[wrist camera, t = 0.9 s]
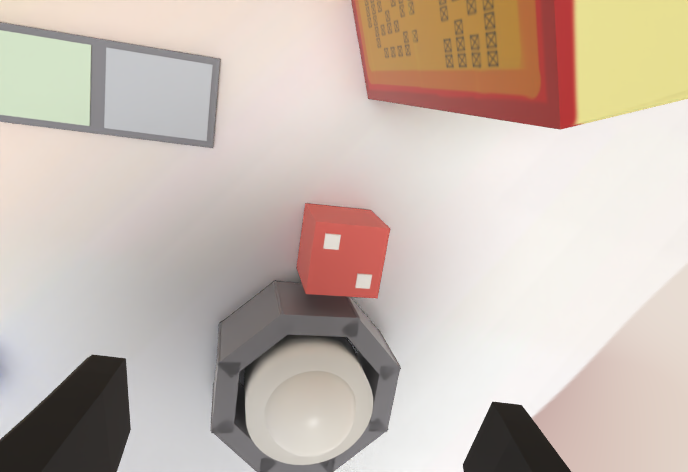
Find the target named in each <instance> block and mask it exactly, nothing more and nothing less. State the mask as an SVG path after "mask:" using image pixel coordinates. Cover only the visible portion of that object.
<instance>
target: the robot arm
mask: <svg viewBox="0 0 688 472" xmlns="http://www.w3.org/2000/svg"><path fill="white" fill-rule="evenodd" d="M130 430H131V428H130V414H129V399H128V385H127V370H126V359H125V358H117V357H108V356H100V355H91V356H90V357H88V358H87V359H86V360H85V361H84V362H83V363H82V364H81V365H79V366H78V367H77V368H76V369H75V370H74V371H73V372H72V373H71V374H70V375H69V376H68V377H67V378H66V379H65V380H64V381H63V382H62V383H61V384H60V385H59V386H58V387H57V388H56V389H55V390H54V391H53V392H52V393H51V394H50V395H48V396H47V397H46V398H45V399H44V400H43V401H42V402H41V403H40V404H39V405H38V406H37V407H36V408H35V409H34V410H32V411H31V412H30V413H29V414H28V415H27V416H26V417H25V418H24V419H23V420H22V421H20V422H19V423H18V424H17V425H16V426H15V427H14V428H13V429H12V430H10V431H9V432H8V433H7V434H6V435H5V436H4V437H3V438H1V439H0V472H117V469H118V466H119V463H120V460H121V457H122V454H123V451H124V448H125V445H126V442H127V439H128V436H129V433H130ZM463 469H464V472H571V471H570V469H569V468H568V467H567V465H566V464H565V463H564V461H563V460H562V459H561V457H560V456H559V455H558V453H557V452H556V451H555V449H554V448H553V447H552V445H551V444H550V443H549V441H548V440H547V438H546V437H545V436H544V435H543V433H542V432H541V430H540V429H539V428H538V426H537V425H536V424H535V422H534V421H533V420H532V418H531V417H530V416H529V414H528V413H527V412H526V410H525V409H524V408H523V406H522V405H517V404H508V403H500V402H492V404H491V406H490V408H489V410H488V412H487V415H486V417H485V419H484V421H483V423H482V425H481V427H480V429H479V431H478V434H477V436H476V438H475V440H474V442H473V444H472V446H471V448H470V451H469V453H468V455H467V457H466V459H465V461H464V463H463Z"/></svg>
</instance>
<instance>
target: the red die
mask: <svg viewBox="0 0 688 472" xmlns="http://www.w3.org/2000/svg"><path fill="white" fill-rule="evenodd" d="M389 233H390V228H389V227H388V226H387V225H386V224H385V223H384V222H383V221H382V220H381V219H380V218H379V217H378V216H376V215H375V214H374V213H373V212H372V211H371V210H365V209H356V208H346V207H336V206H327V205H317V204H307V203H305V209H304V216H303V223H302V231H301V238H300V246H299V253H298V260H297V270H298V273H299V276H300V279H301V282H302V285H303V288H304V291H305V294H313V295H330V296H347V297H364V298H378V293H379V287H380V282H381V276H382V271H383V265H384V260H385V254H386V249H387V243H388V238H389Z"/></svg>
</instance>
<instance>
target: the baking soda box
mask: <svg viewBox="0 0 688 472" xmlns="http://www.w3.org/2000/svg"><path fill="white" fill-rule="evenodd" d="M351 1H352V7H353V13H354V19H355V24H356V30H357V36H358V42H359V48H360V54H361V59H362V65H363V71H364V77H365V83H366V89H367V94H368V99H373V100H379V101H386V102H392V103H398V104H404V105H411V106H417V107H423V108H429V109H436V110H442V111H448V112H454V113H461V114H467V115H473V116H480V117H486V118H492V119H498V120H505V121H511V122H517V123H523V124H530V125H536V126H542V127H548V128H555V129H564V128H568V127H573V126H577V125H581V124H585V123H589V122H593V121H597V120H602V119H606V118H610V117H614V116H618V115H622V114H626V113H631V112H635V111H639V110H643V109H647V108H651V107H655V106H660V105H664V104H668V103H672V102H676V101H680V100H684V99H688V0H351Z"/></svg>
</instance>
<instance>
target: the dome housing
mask: <svg viewBox="0 0 688 472" xmlns="http://www.w3.org/2000/svg"><path fill="white" fill-rule="evenodd" d="M287 335H311V336H336V337H347V338H348V339H349V340H350V341H351V342H352V343H353V345H354V346H355V347H356V348H357V349H358V352H357V358H358V360H359V362H360V364H361V367H362V369H363V371H364V373H365V375H366V378H367V380H368V382H369V384H370V387H371V390H372V395H373V411H372V415H371V419H370V421H369V424H368V426H367V428H366V429H365V431H364V433H363V434H362V435H361V437H360V438H359V439H358V440H357V441H356V442H355V443H354V444H353V445H352V446H351V447H350V448H349V449H347V450H346V451H344V452H343V453H342V454H340V455H338V456H336V457H334V458H332V459H329V460H327V461H324V462H320V463H316V464H311V465H292V464H286V463H283V462H279V461H277V460H274V459H272V458H270V457H269V456H267V455H266V454H264V453H263V452H262V451H260V449H259V448H258V447H257V446H256V445H255V444H254V442H253V441H252V439H251V437H250V435H249V433H248V429H247V426H246V414H245V391H244V387H243V386H242V385H241V384H240V383H239V373H240V371H241V370H243V369H244V368H245V367H246V366H248V365H249V364H250V363H252V362H253V361H254V360H256V359H257V358H258V357H259V356H261V355H262V354H263V353H265V352H266V351H267V350H268V349H270V348H271V347H272V346H274V345H275V344H276V343H278V342H279V341H280V340H281V339H283V338H284V337H285V336H287ZM400 369H401V368H400V365H399V363H398V362H397V360H396V358H395V356H394V355H393V353H392V351H391V350H390V348H389V346H388V344H387V343H386V341H385V339H384V338H383V336H382V334H381V332H380V331H379V329H377V328H376V327H375V326H374V325H373V323H372V322H371V321H370V320H369V318H368V317H367V316H366V315H365V314H364V312H363V311H362V310H361V309H360V308H359V306H358V305H357V304H356V303H355V302H354V300H353V299H352V298H351V297H347V296H330V295H313V294H305V291H304V288H303V285H302V283H294V282H278V281H276V280H275V281H273V283H271V284H270V285H269V286H268V287H266V288H265V289H264V290H262V291H261V292H260V293H259V294H257V295H256V296H255V297H253V298H252V299H251V300H249V301H248V302H247V303H246V304H244V305H243V306H242V307H240V308H239V309H238V310H237V311H235V312H234V313H233V314H231V315H230V316H229V317H228V318H226V319H225V320H224V321H222V322H220V324H219V330H218V349H217V360H216V370H215V381H214V383H213V396H212V413H211V430H210V431H212V432H211V433H214V434H215V435H216V436H217V437H218V438H219V439H221V440H222V441H223V442H224V443H225V444H226V445H227V446H228V447H230V448H231V449H232V450H233V451H234V452H235V453H236V454H237V455H239V456H240V457H241V458H242V459H243V460H244V461H245V462H246V463H248V464H249V465H250V466H251V467H252V468H253V469H254V470H255V471H257V472H334V471H335V470H336V469H337V468H339V467H340V466H341V465H343V464H344V463H345V462H347V461H348V460H349V459H350V458H352V457H353V456H354V455H356V454H357V453H358V452H360V451H361V450H362V449H364V448H365V447H366V446H367V445H369V444H370V443H371V442H373V441H374V440H375V439H377V438H378V437H379V436H380V435H382V434H383V433H384V432H387V430H388V424H389V420H390V415H391V410H392V405H393V400H394V395H395V390H396V385H397V380H398V376H399V371H400Z"/></svg>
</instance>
